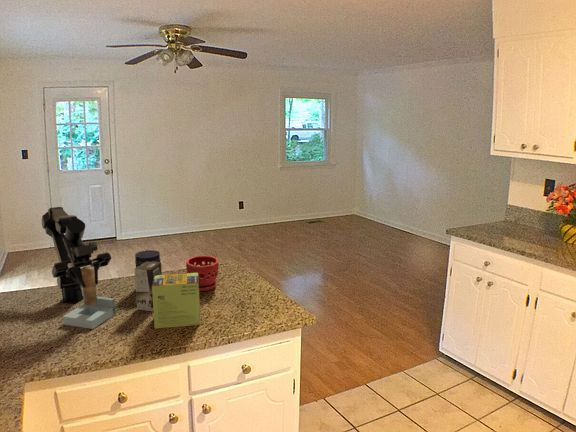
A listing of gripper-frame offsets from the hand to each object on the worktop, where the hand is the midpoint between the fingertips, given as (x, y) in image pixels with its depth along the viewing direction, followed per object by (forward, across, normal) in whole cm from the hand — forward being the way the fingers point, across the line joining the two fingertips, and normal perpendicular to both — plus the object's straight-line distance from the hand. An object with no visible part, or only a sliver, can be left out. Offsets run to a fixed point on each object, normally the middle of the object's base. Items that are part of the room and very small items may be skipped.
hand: (90, 285), depth 152 cm
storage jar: (0, +28, +19) cm, 34 cm away
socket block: (+8, 0, +11) cm, 13 cm away
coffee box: (+11, +20, +8) cm, 24 cm away
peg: (+4, 0, +6) cm, 7 cm away
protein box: (+24, +21, -5) cm, 32 cm away
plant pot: (+10, +45, +9) cm, 47 cm away
